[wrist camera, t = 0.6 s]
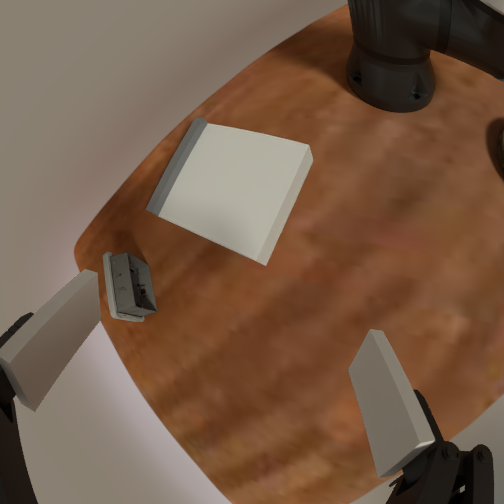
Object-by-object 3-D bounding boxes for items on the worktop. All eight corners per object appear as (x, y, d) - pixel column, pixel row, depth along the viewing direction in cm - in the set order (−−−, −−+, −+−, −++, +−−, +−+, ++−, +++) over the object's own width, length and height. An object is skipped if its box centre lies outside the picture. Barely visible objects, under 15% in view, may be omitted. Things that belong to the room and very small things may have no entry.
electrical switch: (131, 267, 44) (94, 255, 35) (156, 257, 43) (120, 243, 34) (141, 322, 41) (102, 321, 32) (167, 315, 40) (130, 312, 31)
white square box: (211, 135, 44) (195, 117, 39) (313, 160, 37) (307, 138, 32) (166, 220, 43) (145, 209, 38) (265, 265, 36) (251, 258, 31)
